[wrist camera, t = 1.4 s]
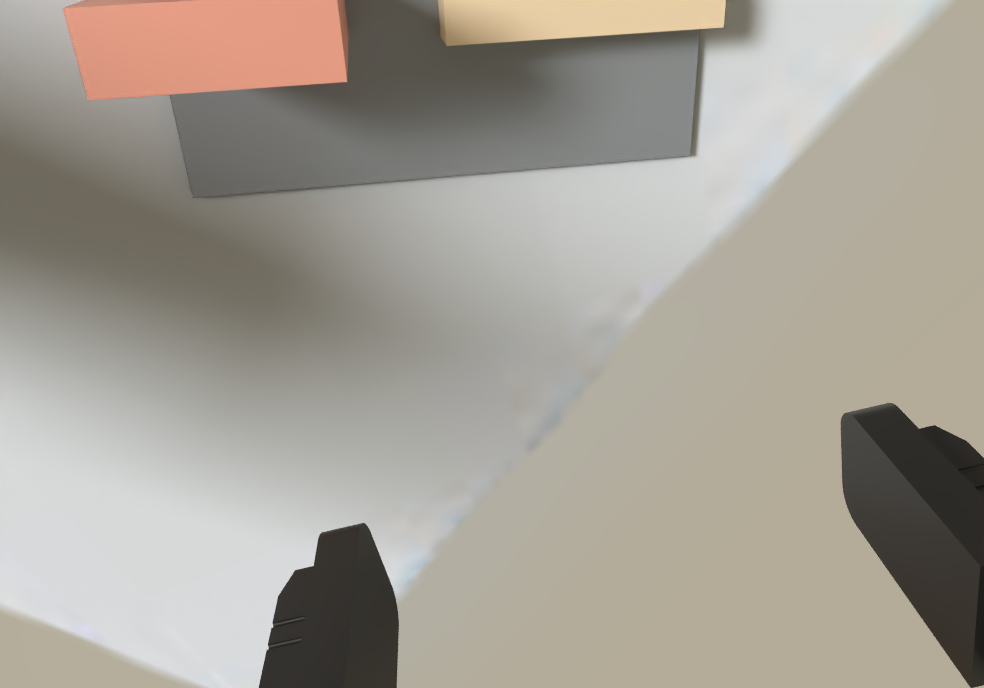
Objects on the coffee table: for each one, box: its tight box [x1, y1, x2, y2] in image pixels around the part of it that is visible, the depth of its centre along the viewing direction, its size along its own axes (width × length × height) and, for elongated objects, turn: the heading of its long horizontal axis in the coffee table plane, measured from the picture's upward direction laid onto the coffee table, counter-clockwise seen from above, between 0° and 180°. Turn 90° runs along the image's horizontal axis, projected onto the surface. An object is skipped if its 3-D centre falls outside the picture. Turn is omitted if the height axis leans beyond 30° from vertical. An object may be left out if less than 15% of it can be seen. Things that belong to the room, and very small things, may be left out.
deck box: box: [63, 0, 349, 100], centre depth 22 cm, size 6×2×8 cm, turn 93°
